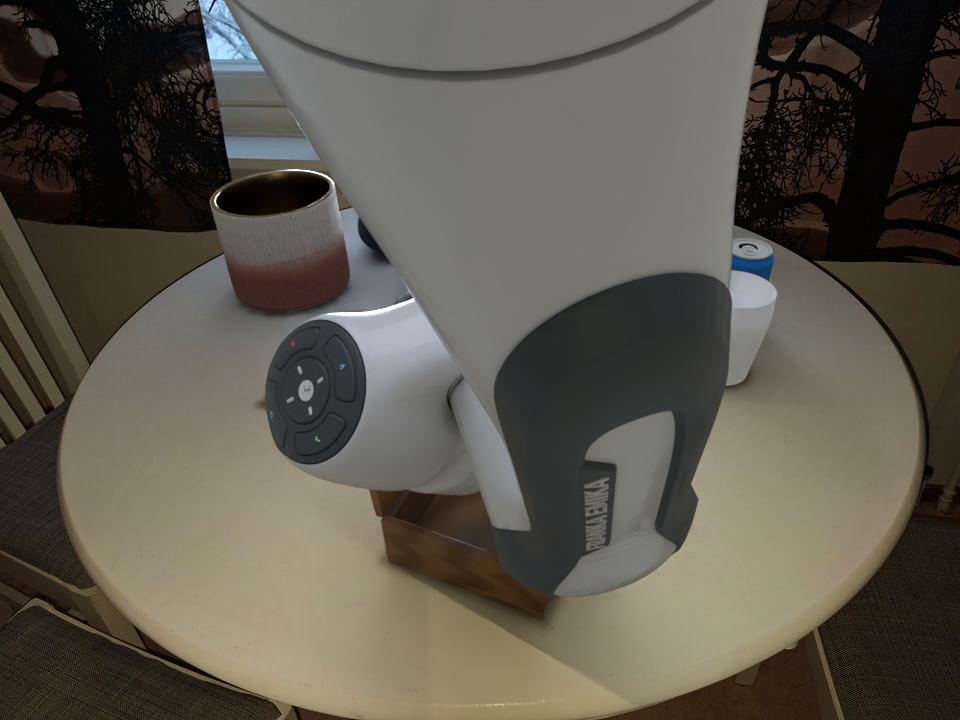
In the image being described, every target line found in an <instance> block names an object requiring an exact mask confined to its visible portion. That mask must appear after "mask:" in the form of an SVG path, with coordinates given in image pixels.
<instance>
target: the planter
mask: <svg viewBox="0 0 960 720" xmlns="http://www.w3.org/2000/svg"><path fill="white" fill-rule="evenodd" d="M209 205H210V209H211V213H212V216H213V219H214V223H215V227H216V230H217V234H218V237H219V242H220V246H221V249H222V253H223V256H224V260H225V264H226V267H227V271H228V274H229V275H228V276H229V278H230V279H229V280H230V282H231V286H232V288H233V292H234V295H235V297H236V299H237V300H238V301H239V302H240V303H241V304H242V305H244V306H245V307H248V308H250V309H253V310H255V311H259V312H264V313H272V314H273V313H274V314H285V313H286V314H287V313H294V312H295V313H296V312H302V311H305V310H309V309H312V308H316V307H319V306H321V305H323V304H325V303H327V302H329V301H331V300H333V299H334V298H336V297H337V296H338V295H340V293H342V292H343V290H345V289H346V287H347V286H348V284H349V282H350V279H351V269H350V261H349V256H348V252H347V251H348V250H347V245H346V240H345V235H344V234H345V233H344V229H343V224H342V218H341V212H340V207H339V203H338V196H337V189H336V185H335V181H334V180H333V179H331V178H330V177H329V176H328V175H325V174H323V173H319V172H316V171H311V170H305V169H303V170H302V169H278V170H271V171H263V172H259V173H253V174H250V175H246V176H243V177H240V178H237V179H235V180H232V181H230V182H228V183H226V184H224V185H223V186H221V187H219V188H218V189H217V190H216V191H215V192H214V193H212V195H211V197H210V200H209Z"/></svg>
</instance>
